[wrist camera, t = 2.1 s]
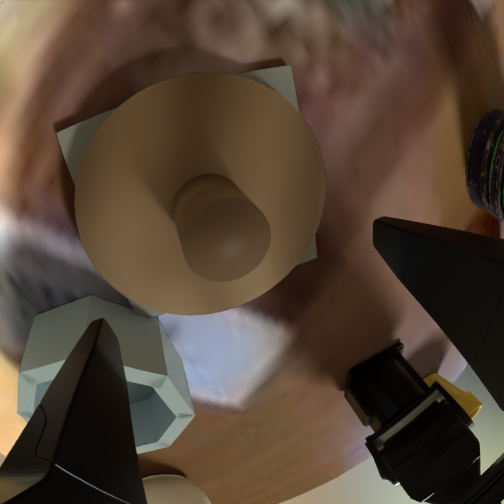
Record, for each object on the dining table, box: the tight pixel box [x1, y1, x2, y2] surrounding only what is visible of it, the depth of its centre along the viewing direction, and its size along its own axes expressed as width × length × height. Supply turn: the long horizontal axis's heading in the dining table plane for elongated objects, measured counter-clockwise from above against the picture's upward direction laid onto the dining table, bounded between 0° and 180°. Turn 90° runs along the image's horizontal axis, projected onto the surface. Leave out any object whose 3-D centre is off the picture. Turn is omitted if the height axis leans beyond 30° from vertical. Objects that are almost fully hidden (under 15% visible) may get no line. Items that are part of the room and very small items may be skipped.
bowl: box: [17, 295, 196, 454], centre depth 16 cm, size 10×10×4 cm
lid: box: [74, 72, 326, 315], centre depth 13 cm, size 12×12×4 cm
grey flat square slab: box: [56, 65, 317, 319], centre depth 15 cm, size 11×11×1 cm
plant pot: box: [423, 373, 482, 419], centre depth 35 cm, size 10×10×10 cm
